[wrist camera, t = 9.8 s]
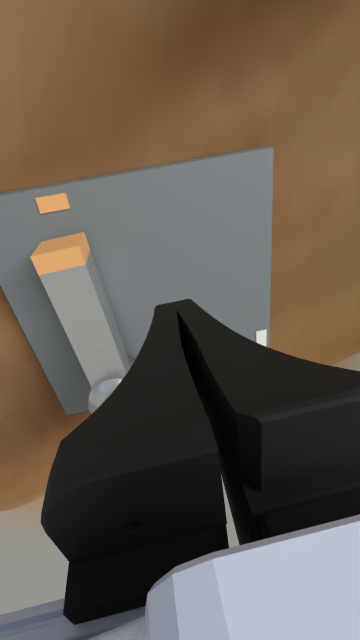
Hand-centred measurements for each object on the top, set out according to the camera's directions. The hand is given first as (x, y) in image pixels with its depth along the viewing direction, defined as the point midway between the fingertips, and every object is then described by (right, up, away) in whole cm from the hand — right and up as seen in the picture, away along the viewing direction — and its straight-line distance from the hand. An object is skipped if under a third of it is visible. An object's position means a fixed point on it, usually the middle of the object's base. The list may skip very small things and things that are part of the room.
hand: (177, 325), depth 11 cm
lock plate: (-2, +2, +11) cm, 11 cm away
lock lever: (-5, 0, +9) cm, 11 cm away
